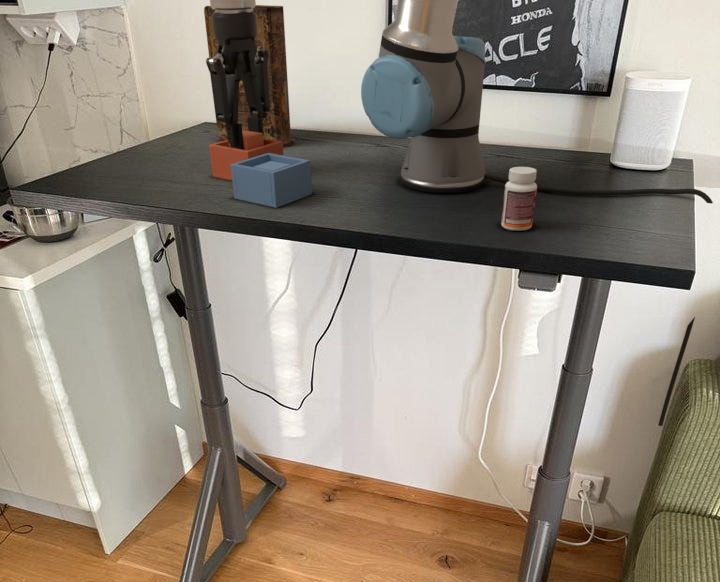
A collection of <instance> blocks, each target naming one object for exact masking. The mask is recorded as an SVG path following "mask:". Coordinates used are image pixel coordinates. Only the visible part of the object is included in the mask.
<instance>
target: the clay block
mask: <svg viewBox="0 0 720 582" xmlns="http://www.w3.org/2000/svg"><path fill="white" fill-rule="evenodd" d="M242 133H243V144H244V150H247V151H248V150H251V149H254V148H258V147H261V146H264V140H263V133H258V132H251V131H242ZM229 144H230V143H229Z"/></svg>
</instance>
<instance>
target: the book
mask: <svg viewBox="0 0 720 582" xmlns="http://www.w3.org/2000/svg"><path fill="white" fill-rule="evenodd" d="M252 9H253V12H255V14H256V16H257V28H258V35H257V37H255V38H254V39H255V43H256V45H257V48H258V49H260V50H267V51H268V53H269V56H268V63H267V71H268V85H269V99H270V111H269V112H266V113H267V117H266V118H262V119H263V131H264V133H263V138H265V139H270V140H276V141H282V142H283V148H284V147H285V148H286V147H288V146H291V145H292V131H291V118H290V116H291V113H290V100H289V97H290V96H289V82H288V81H289V80H288V65H287V50H286V49H287V45H286V31H285V29H286V28H285V15H284V6H283V5H268V4H267V5H265V4H256V6H255V8H252ZM203 13H204V23H205V32H206V40H207V49H208V58H213V57H214V56H215V55H216V54H217V48H218V40H217V39H216V38H215V37H214V33H213V24H212V15H213V13H215V9H212V8H211V5H205V6H204V8H203ZM230 75H232V74H230ZM262 104H264V103H262ZM230 116H231V114H230ZM248 117H252V116H251V115H250V111H249V107H248V103H247V99H246V95H245V91H244V87H243V83H242V80H241V81H240V82H239V106H238V123H241V124H242V131H248V121H247V118H248ZM215 122H216V132H217V136H218V138H219V139H220V140H221V141H225V140H228V139H227V130H226V124H225V123H223V122H221V121H217V120H216V119H215Z"/></svg>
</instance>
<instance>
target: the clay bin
mask: <svg viewBox="0 0 720 582" xmlns="http://www.w3.org/2000/svg"><path fill="white" fill-rule="evenodd" d="M263 140H264V146H261V147H258V148H254V149H251V150H248V151H247V150H242V149H236V148H231V147H230V144H229V142H228V140H225V141H224V140H221V141H218V142H215V143H212V144H209V145H208V147H209V154H210V162H211V163H210V164H211V171H212V178H213V177H214V178H218V179H221V180H226V181H227V180H228V181H231V182H232V172H231V164H234V163H237V162H240V161H243V160H247V159H250V158H253V157H256V156H260V155H263V154H266V153H271V154H277V155H283V156H285V155H284V147H283V142H282V141H276V140H270V139H265V138H263Z"/></svg>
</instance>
